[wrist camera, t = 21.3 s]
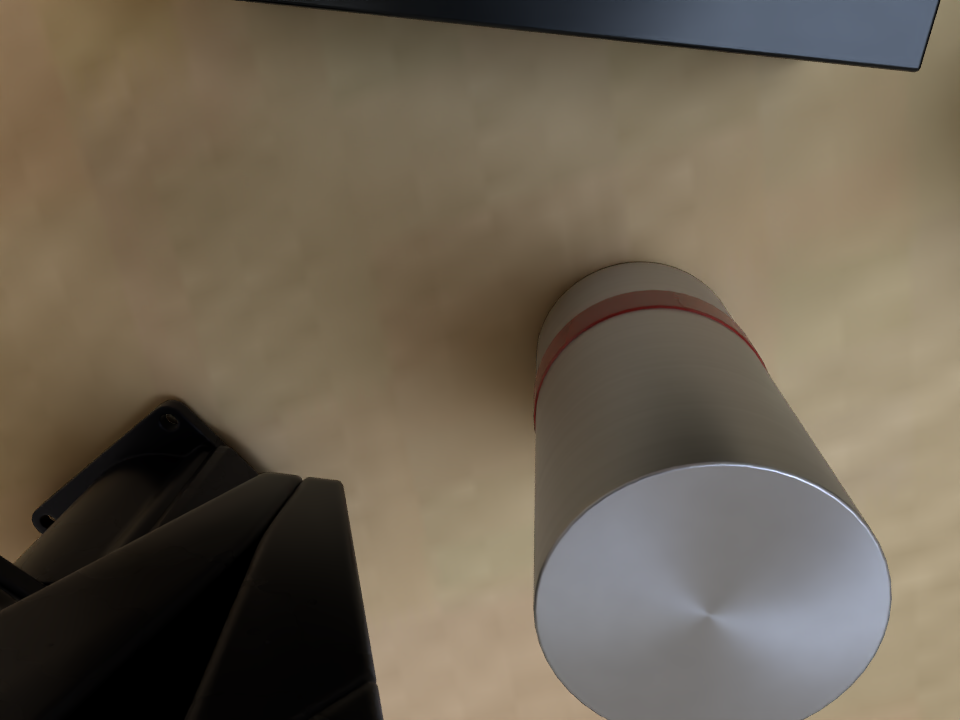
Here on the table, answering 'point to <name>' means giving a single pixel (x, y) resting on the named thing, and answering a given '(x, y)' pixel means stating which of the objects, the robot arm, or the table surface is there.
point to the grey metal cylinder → (688, 516)
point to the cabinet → (696, 24)
